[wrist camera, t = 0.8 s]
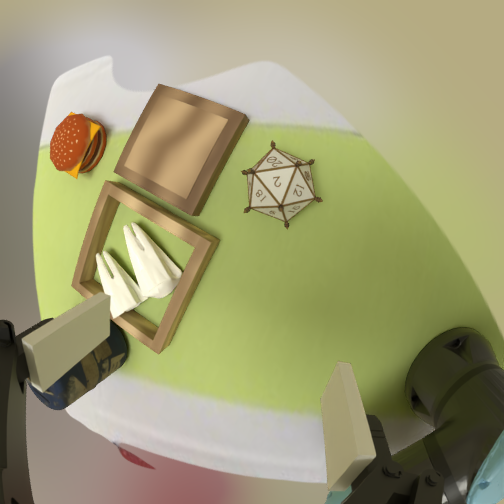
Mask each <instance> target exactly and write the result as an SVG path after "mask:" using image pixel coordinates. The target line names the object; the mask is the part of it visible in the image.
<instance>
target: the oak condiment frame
mask: <svg viewBox="0 0 504 504" xmlns="http://www.w3.org/2000/svg"><path fill="white" fill-rule="evenodd" d="M120 202H121V203H123V204H124V205H126V206H128V207H129V208H131V209H132V210H134V211H136V212H137V213H139V214H140V215H142V216H144V217H145V218H147V219H149V220H150V221H152V222H154V223H155V224H157V225H158V226H160V227H162V228H163V229H165V230H167V231H168V232H170V233H172V234H173V235H175V236H177V237H178V238H180V239H182V240H183V241H185V242H187V243H188V244H190V245H192V246H193V247H195V249H194V251H193V253H192V255H191V257H190V259H189V261H188V263H187V266H186V268H185V270H184V272H183V274H182V276H181V278H180V281H179V283H178V285H177V287H176V289H175V292H174V294H173V296H172V298H171V301H170V303H169V305H168V307H167V310H166V312H165V314H164V316H163V319H162V321H161V323H160V326H159V328H158V327H157V326H155V325H154V324H152V323H151V322H149V321H148V320H147V319H145V318H144V317H142V316H141V315H140V314H138V313H137V312H135V311H134V310H133V309H132V310H130V311H127V312H126V311H125V312H124V313H122V314H121V315H119V316H118V317H116V318H114V319H113V316H112V314H111V311H110V319H111V320H112V321H114V322H115V323H116V324H118V325H119V326H120V327H121V328H123V329H124V330H125V331H127V332H128V333H129V334H131V335H132V336H133V337H135V338H136V339H138V340H139V341H140V342H142V343H143V344H144V345H146V346H147V347H149V348H150V349H152V350H153V351H154V352H156V353H157V354H160V353H161V352H162V351H163V350H164V349H165V348H166V347H167V346H169V345H170V342H171V340H172V338H173V336H174V334H175V332H176V330H177V327H178V325H179V323H180V321H181V319H182V317H183V315H184V313H185V311H186V308H187V306H188V304H189V302H190V300H191V298H192V296H193V294H194V292H195V290H196V288H197V286H198V284H199V282H200V280H201V278H202V276H203V274H204V271H205V269H206V267H207V265H208V263H209V261H210V259H211V257H212V255H213V253H214V251H215V249H216V247H217V245H218V243H219V241H220V240H219V239H217V238H215V237H214V236H212V235H210V234H208V233H207V232H205V231H203V230H201V229H200V228H198V227H196V226H194V225H193V224H191V223H189V222H187V221H186V220H184V219H182V218H180V217H179V216H177V215H175V214H173V213H172V212H170V211H168V210H166V209H165V208H163V207H161V206H159V205H158V204H156V203H154V202H153V201H151V200H149V199H147V198H146V197H144V196H142V195H140V194H139V193H137V192H135V191H133V190H132V189H130V188H128V187H127V186H125V185H123V184H121V183H120V182H113V181H106V180H105V183H104V185H103V187H102V190H101V193H100V195H99V198H98V200H97V203H96V206H95V209H94V211H93V214H92V217H91V220H90V223H89V226H88V229H87V232H86V235H85V238H84V241H83V245H82V248H81V251H80V255H79V258H78V262H77V265H76V269H75V273H74V277H73V281H72V285H71V286H72V287H73V288H74V289H75V290H77V291H78V292H79V293H80V294H81V295H82V296H83V297H85V298H86V299H89V298H91V297H92V296H94V295H96V294H98V293H99V292H102V293H104V289H103V286H101V285H100V284H99V283H98V282H96V281H95V280H94V279H93V278H94V274H95V271H96V268H97V261H96V254H97V253H99V254H100V255H101V252H102V249H103V246H104V243H105V240H106V237H107V235H108V232H109V229H110V226H111V224H112V221H113V218H114V216H115V213H116V211H117V208H118V206H119V203H120Z"/></svg>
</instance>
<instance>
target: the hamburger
mask: <svg viewBox="0 0 504 504" xmlns="http://www.w3.org/2000/svg"><path fill="white" fill-rule="evenodd" d="M105 146H106V133H105V130H104V127H103V126H102V125H101V124H100V123H99V122H98V121H93V120H91V119H90V118H87V117H85V116H84V115H83V114H75V113H73V112H71V113H70V114H69V115H68V116H67V117H66V118H65V119H64V120H63V121H62V122H61V123H60V124H59V125H58V126H57V127H56V130H55V132H54V134H53V137H52V139H51V142H50V159H51V161H52V162H53V164H54V165H55V167H56V169H57V170H59V171H65V172H67V173H68V174H70V175H71V176H73V177H75V178H76V179H77V178H78V173H85V172H88V171H90V170H92V169H93V168H94V167H95V166H96V165H97V164H98V162H99V161H100V159H101V158H102V156H103V153H104V150H105Z"/></svg>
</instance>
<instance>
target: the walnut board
mask: <svg viewBox="0 0 504 504" xmlns="http://www.w3.org/2000/svg"><path fill="white" fill-rule="evenodd" d="M248 122H249V119H248V118H247V116H246V115H245V114H243V113H241V112H238V111H236V110H233V109H231V108H228V107H226V106H223V105H221V104H218V103H215V102H213V101H210V100H207V99H204V98H202V97H199V96H196V95H193V94H190V93H187V92H184V91H181V90H178V89H175V88H172V87H168V86H165V85H162V84H158V86H157V87H156V89H155V91H154V92H153V94H152V96H151V98H150V99H149V101H148V103H147V105H146V106H145V108H144V110H143V112H142V114H141V116H140V118H139V119H138V121H137V123H136V125H135V127H134V129H133V131H132V133H131V135H130V137H129V139H128V141H127V143H126V145H125V147H124V150H123V152H122V154H121V156H120V158H119V160H118V163H117V165H116V167H115V170H114V173H116V174H118V175H120V176H122V177H123V178H125V179H127V180H129V181H130V182H132V183H134V184H136V185H138V186H139V187H141V188H143V189H145V190H146V191H148V192H150V193H152V194H154V195H155V196H157V197H159V198H161V199H162V200H164V201H166V202H168V203H170V204H171V205H173V206H175V207H177V208H178V209H180V210H182V211H184V212H186V213H187V214H189V215H191V216H199V215H200V213H201V211H202V209H203V207H204V205H205V203H206V201H207V199H208V197H209V195H210V193H211V191H212V189H213V187H214V185H215V183H216V181H217V179H218V177H219V175H220V173H221V172H222V170H223V168H224V166H225V164H226V162H227V160H228V158H229V156H230V155H231V153H232V151H233V149H234V147H235V145H236V144H237V142H238V140H239V138H240V136H241V135H242V133H243V131H244V129H245V127H246V126H247V124H248Z"/></svg>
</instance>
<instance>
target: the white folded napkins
mask: <svg viewBox="0 0 504 504" xmlns="http://www.w3.org/2000/svg"><path fill="white" fill-rule="evenodd" d="M132 227H133V230H134V232H135V234H136V237H135V236H134V235H133V234H132V232H131V231H130V229H129V227H128V225H125V226H124V227H123V228H124V234H125V239H126V244H127V248H128V252H129V255H130V259H131V262H132V266H133V269H134V272H135V275H136V278H137V281H138V284H139V285H137V284H136V283H135V282H134V280H133V279H132V278H131V277H130V276H129V275H128V274H127V273H126V271H125V270H124V269H123V268H122V267H121V266H120V265H119V264H118V263H117V262H116V260H115V259H114V258H113V257H112V256H111V255H110V254H109V253H108V252H107V251H103V255H104V257H105V259H106V261H107V263H108V265H109V267H110V269H111V271H112V273H113V275H114V278H113V277H112V278H111V275H110V274H109V272H108V270H107V268H106V266H105V264H104V262H103V260H102V258H101V256H100V254H99V253H97V254H96V261H97V266H98V270H99V274H100V278H101V282H102V286H103V289H104V293H105V294H107V295H110V296H111V302H110V311H111V314H112V316H113V319H114V318H116V317H118V316H119V315H121V314H122V313H124V312H125V311H126V312H127V311H130V310H132V309H133V308H135V307H137V306H138V305H140V303H142V302H144V300H147V299H148V298H149V297H155V298H163V297H165V296H167V295H168V294H169V293H171V292H172V290H174V288H175V287H176V286H177V284H178V283H179V281H180V278H181V276H182V271H181V270H180V269H179V268H178V267H177V266H176V265H175V264H174V263H173V261H172V260H171V259H170V258H169V257H168V256H167V255H166V254H165V253H164V252H163V251H162V250H161V249H160V248H159V247H158V246H157V245H156V244H155V242H154V241H153V240H152V239H151V238H150V237H149V236H148V235H147V234H146V233H145V232H144V231H143V230H142V229H141V228H140V227H139V226H138V225H137V224H136V223H134V222H133V223H132Z"/></svg>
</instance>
